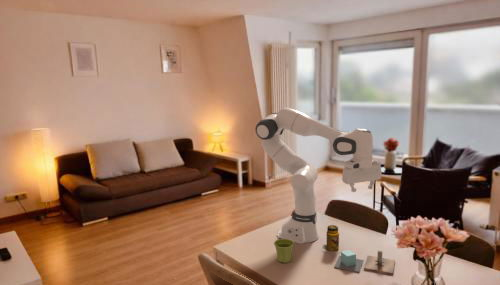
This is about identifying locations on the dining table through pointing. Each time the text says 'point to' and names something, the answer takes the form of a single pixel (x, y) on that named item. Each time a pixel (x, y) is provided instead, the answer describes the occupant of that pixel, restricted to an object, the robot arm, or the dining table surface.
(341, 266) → the mat
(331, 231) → the condiment
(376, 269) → the post
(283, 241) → the plant pot
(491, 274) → the dining table surface
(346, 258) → the teal cube
